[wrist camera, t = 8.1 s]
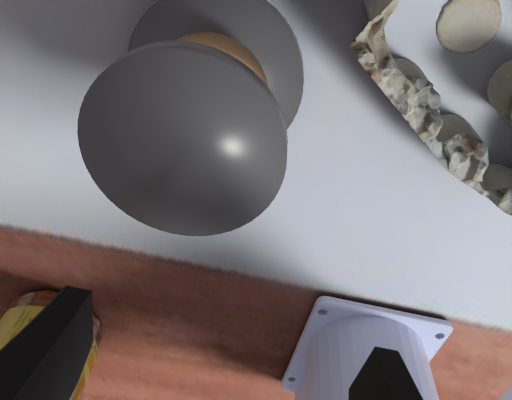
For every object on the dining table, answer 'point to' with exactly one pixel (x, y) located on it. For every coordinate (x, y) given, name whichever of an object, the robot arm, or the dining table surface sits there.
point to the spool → (195, 115)
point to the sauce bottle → (26, 310)
